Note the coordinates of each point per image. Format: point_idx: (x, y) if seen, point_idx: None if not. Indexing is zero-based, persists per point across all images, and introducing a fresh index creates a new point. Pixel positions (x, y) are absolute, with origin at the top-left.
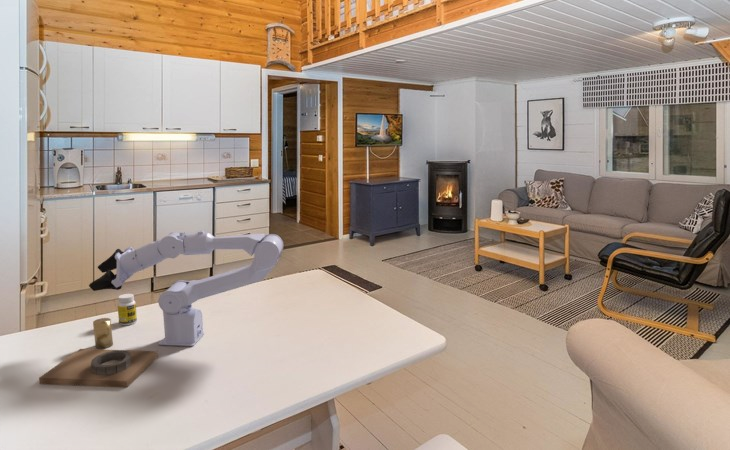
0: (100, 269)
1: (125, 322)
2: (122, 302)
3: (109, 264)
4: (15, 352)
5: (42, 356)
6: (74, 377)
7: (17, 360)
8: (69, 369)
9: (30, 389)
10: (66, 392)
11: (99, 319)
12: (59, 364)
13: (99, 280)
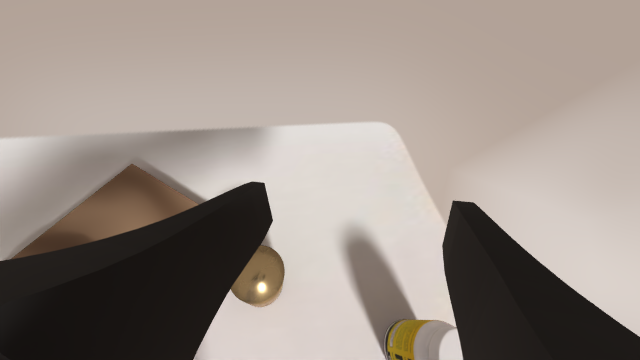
0: (448, 226)
1: (387, 342)
2: (428, 343)
3: (478, 300)
4: (314, 134)
5: (272, 168)
6: (65, 223)
7: (276, 137)
8: (125, 212)
9: (127, 159)
10: (46, 215)
11: (276, 264)
12: (172, 192)
13: (149, 225)
